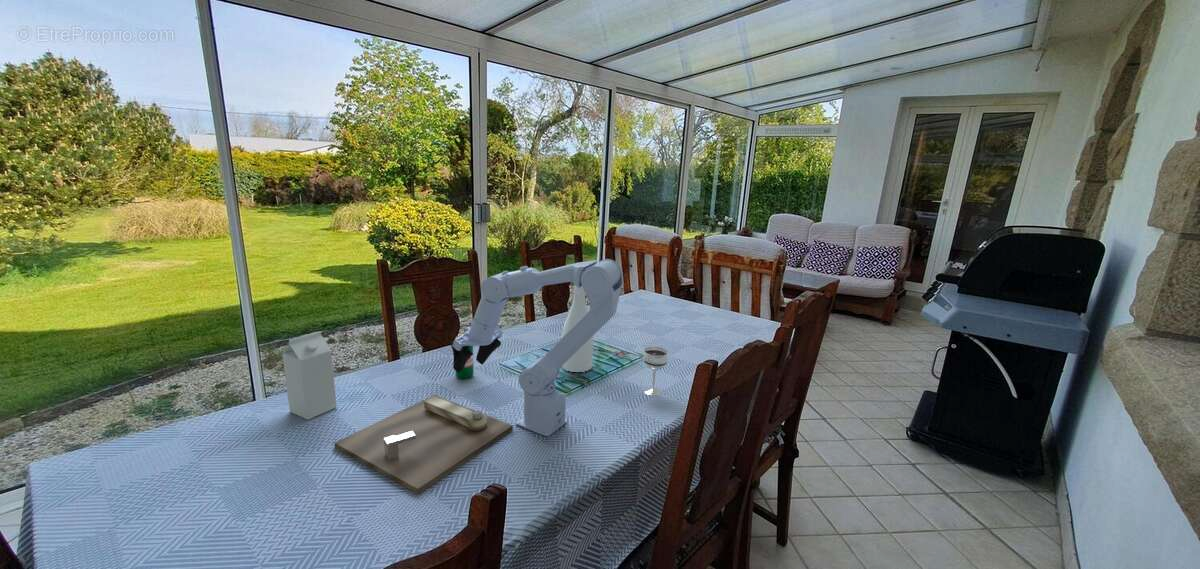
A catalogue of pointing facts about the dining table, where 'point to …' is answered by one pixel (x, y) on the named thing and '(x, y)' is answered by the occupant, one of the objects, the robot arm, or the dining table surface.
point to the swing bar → (457, 413)
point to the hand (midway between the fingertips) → (468, 366)
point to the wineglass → (654, 365)
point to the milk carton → (309, 376)
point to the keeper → (396, 444)
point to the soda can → (466, 366)
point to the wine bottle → (578, 309)
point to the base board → (421, 445)
